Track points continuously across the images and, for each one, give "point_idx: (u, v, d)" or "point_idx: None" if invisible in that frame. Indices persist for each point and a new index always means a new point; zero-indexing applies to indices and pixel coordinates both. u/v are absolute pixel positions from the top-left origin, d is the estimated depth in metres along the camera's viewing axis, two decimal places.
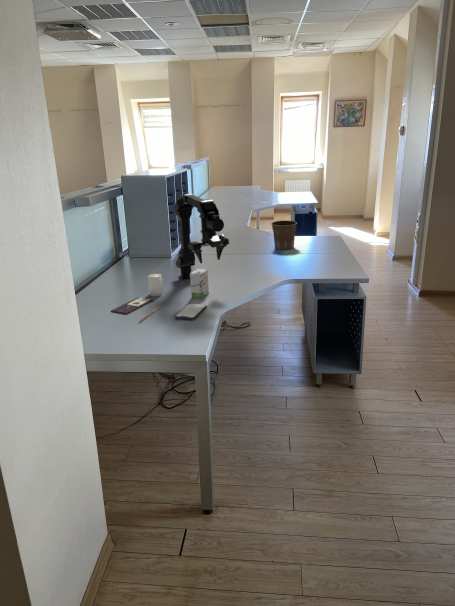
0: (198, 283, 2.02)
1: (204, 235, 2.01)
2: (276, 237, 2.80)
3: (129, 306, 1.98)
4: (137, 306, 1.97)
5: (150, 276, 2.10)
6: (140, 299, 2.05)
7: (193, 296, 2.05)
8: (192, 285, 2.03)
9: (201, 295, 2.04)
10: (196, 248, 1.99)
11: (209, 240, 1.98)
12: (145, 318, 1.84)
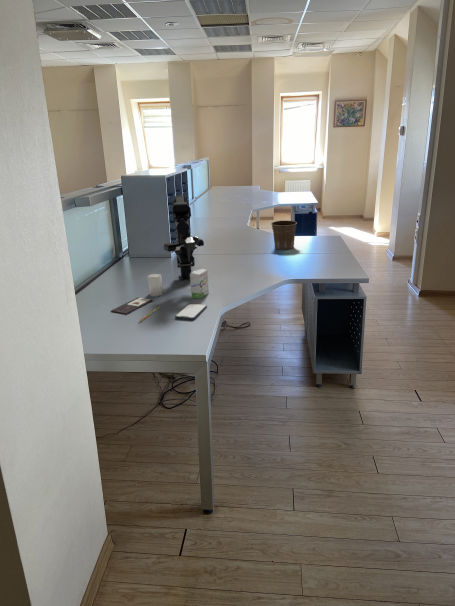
0: (198, 283, 2.02)
1: (179, 237, 2.09)
2: (276, 237, 2.80)
3: (129, 306, 1.97)
4: (137, 306, 1.97)
5: (150, 276, 2.10)
6: (140, 299, 2.05)
7: (193, 296, 2.05)
8: (192, 285, 2.03)
9: (201, 295, 2.04)
10: (171, 249, 2.06)
11: (183, 241, 2.06)
12: (145, 318, 1.84)
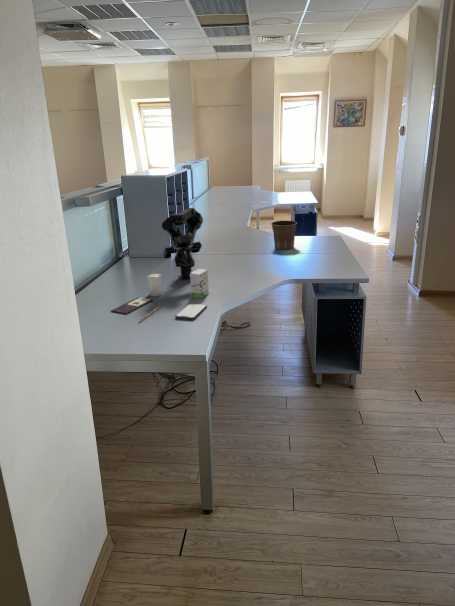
0: (198, 283, 2.02)
1: (175, 241, 2.14)
2: (276, 237, 2.80)
3: (129, 306, 1.97)
4: (137, 306, 1.97)
5: (150, 276, 2.10)
6: (140, 299, 2.05)
7: (193, 296, 2.05)
8: (192, 285, 2.03)
9: (201, 295, 2.04)
10: (168, 249, 2.09)
11: (178, 239, 2.10)
12: (145, 318, 1.84)
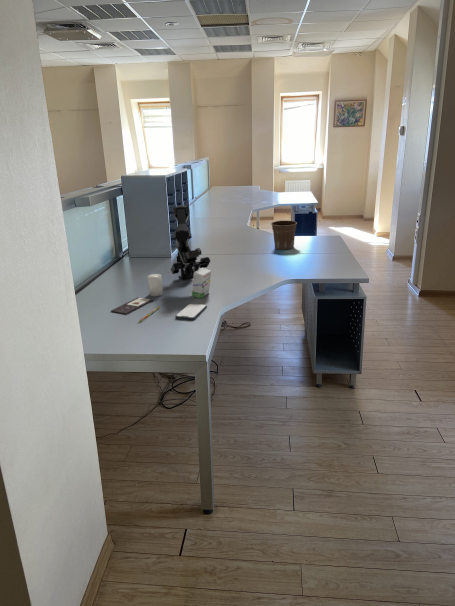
0: (201, 284, 2.01)
1: (183, 257, 2.10)
2: (276, 237, 2.80)
3: (129, 306, 1.97)
4: (137, 306, 1.97)
5: (150, 276, 2.10)
6: (140, 299, 2.05)
7: (193, 295, 2.05)
8: (194, 284, 2.03)
9: (201, 295, 2.04)
10: (177, 265, 2.04)
11: (186, 254, 2.06)
12: (145, 318, 1.84)
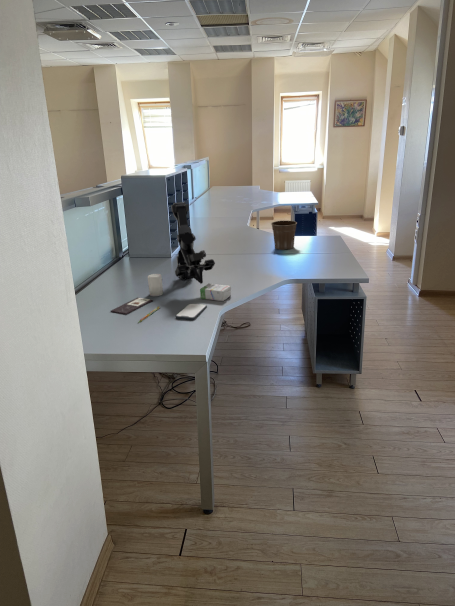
0: (214, 299, 2.01)
1: (187, 259, 2.06)
2: (276, 237, 2.80)
3: (129, 306, 1.97)
4: (137, 306, 1.97)
5: (150, 276, 2.10)
6: (140, 299, 2.05)
7: (201, 291, 2.02)
8: (211, 292, 2.00)
9: None
10: (181, 267, 2.01)
11: (191, 257, 2.02)
12: (145, 318, 1.84)
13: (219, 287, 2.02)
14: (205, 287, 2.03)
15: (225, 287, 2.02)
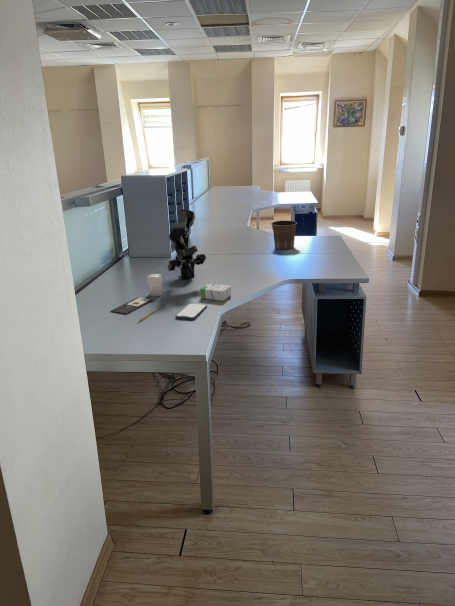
0: (214, 299, 2.01)
1: (179, 254, 2.13)
2: (276, 237, 2.80)
3: (129, 306, 1.97)
4: (137, 306, 1.97)
5: (150, 276, 2.10)
6: (140, 299, 2.05)
7: (201, 291, 2.02)
8: (211, 292, 2.00)
9: None
10: (173, 262, 2.08)
11: (183, 251, 2.09)
12: (145, 318, 1.84)
13: (219, 287, 2.02)
14: (205, 287, 2.03)
15: (225, 287, 2.02)
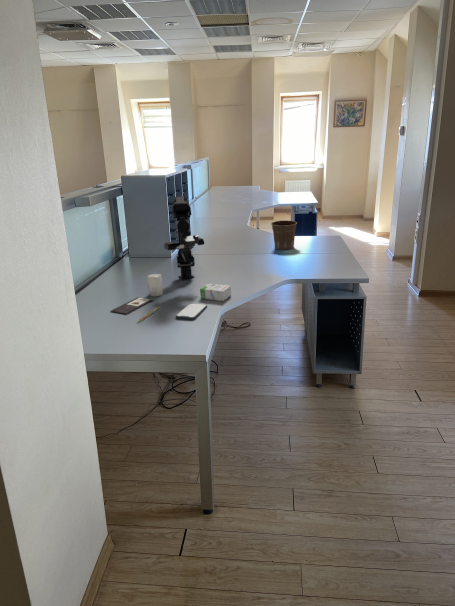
0: (214, 299, 2.01)
1: (179, 235, 2.10)
2: (276, 237, 2.80)
3: (129, 306, 1.97)
4: (137, 306, 1.97)
5: (150, 276, 2.10)
6: (139, 299, 2.05)
7: (201, 291, 2.02)
8: (211, 292, 2.00)
9: None
10: (171, 248, 2.08)
11: (183, 240, 2.07)
12: (144, 318, 1.84)
13: (219, 287, 2.02)
14: (205, 287, 2.03)
15: (225, 287, 2.02)
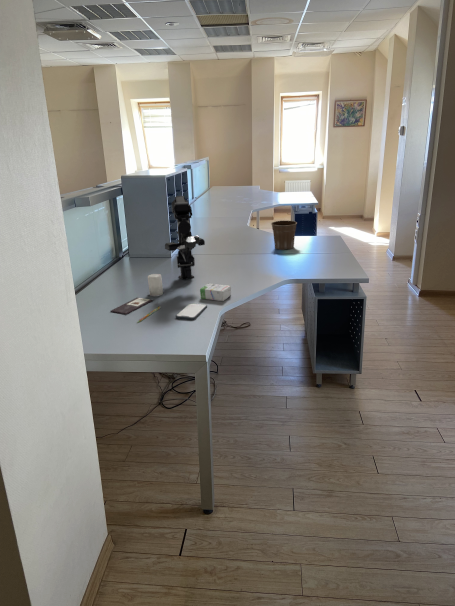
0: (214, 299, 2.01)
1: (180, 236, 2.10)
2: (276, 237, 2.80)
3: (129, 306, 1.97)
4: (137, 306, 1.97)
5: (150, 276, 2.10)
6: (139, 299, 2.05)
7: (201, 291, 2.02)
8: (211, 292, 2.00)
9: None
10: (172, 248, 2.08)
11: (184, 241, 2.07)
12: (144, 318, 1.84)
13: (219, 287, 2.02)
14: (205, 287, 2.03)
15: (225, 287, 2.02)
